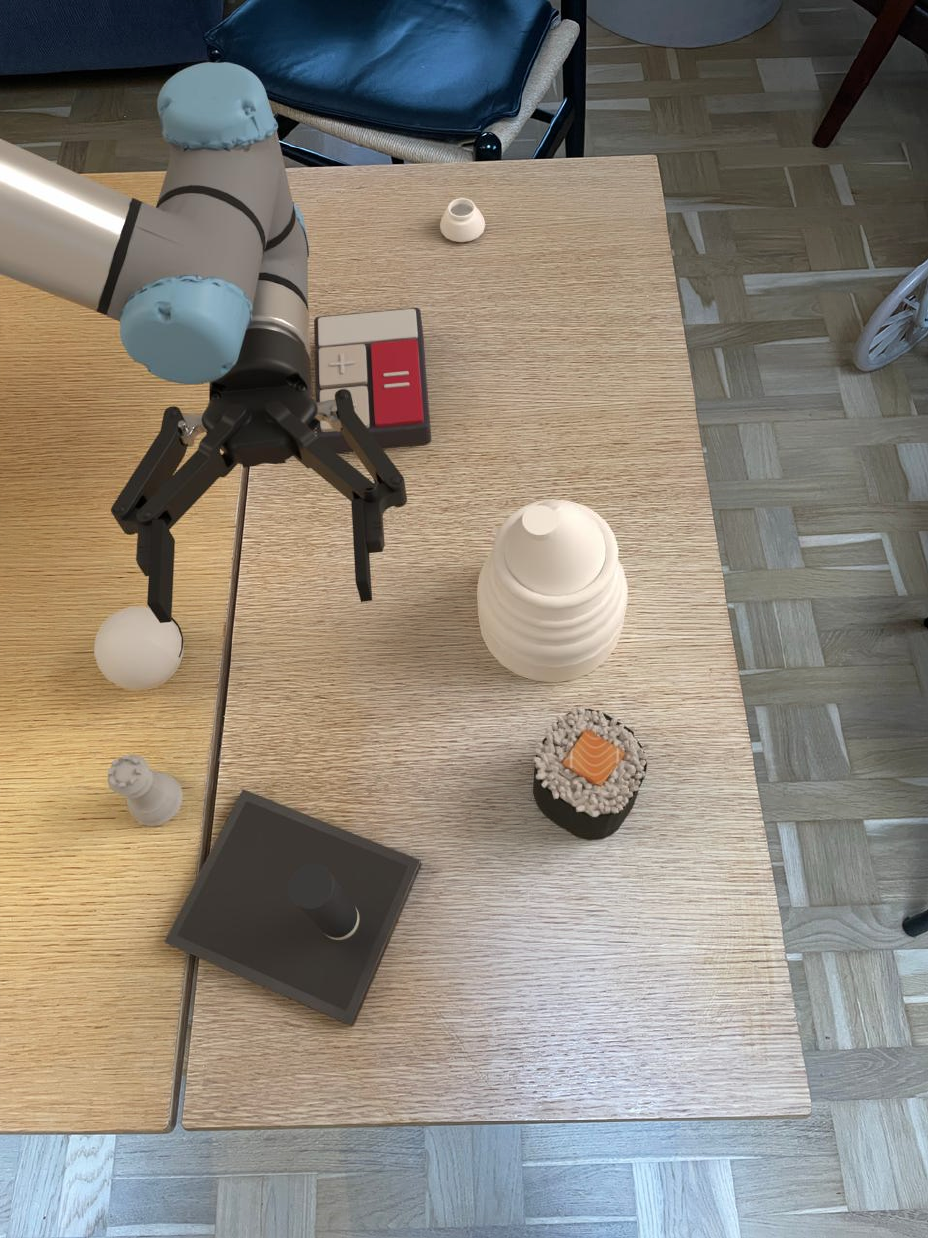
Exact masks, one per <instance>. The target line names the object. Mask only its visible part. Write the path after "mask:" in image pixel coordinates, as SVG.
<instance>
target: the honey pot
mask: <svg viewBox="0 0 928 1238" xmlns="http://www.w3.org/2000/svg"><path fill="white" fill-rule="evenodd" d="M619 552H620V551H619V546H618V541H617V539H616V534H614V531H613V530H612V528H611V526H610V525H609V524H608V522H607V521H606V520H605V519H604V518H603V517H602V516H600V514H599V513H598V512H596V511H595V510H593V509H591V508H589V507H587V506H586V505H584V504H581V503H578V502H574V501H571V500H567V499H555V498H554V499H553V498H551V499H544V500H537V501H534V502H530V503H528V504H526V505H523V506H521V507H519V508H518V509H517V510H515V511H514V512H512V513H510V515H508V516H507V517H506V519H505V520H504V521H503V522H502V523H501V525H500V526H499V527H498V529H497V531H496V534H495V537H494V538H493V541H492V548H491V552H490V553H489V554H488V556H486V558H485V560H484V563H483V565H482V568H481V570H480V572H479V575H478V579H477V580H478V581H477V588H476V597H477V598H476V600H477V601H476V603H477V614H478V622H479V623H478V624H479V629H480V634H481V637H482V640H483V641H484V644H485V646H486V648H487V650H488V652H489V653H490V654H491V655H492V656H493V657H494V658H495V659H496V660H497V661H498V663H499V664H500V665H501V666H503V667H505V669H507V670H509V671H511V672H512V673H514V674H515V675H517V676H519V677H523V678H526V679H529V680H531V681H534V682H543V683H544V682H545V683H561V682H568V681H574V680H577V679H579V678H581V677H584V676H586V675H588V674H590V673H593V672H594V671H595V670H596V669H598V668H599V667H600V666H601V665H603V664H604V663H605V662H606V661H607V660H608V659H609V657H610V656H611V654H612V653H613V652H614V650H615V649H616V648H617V646H618V643H619V640H620V637H621V635H622V632H623V627H624V621H625V618H626V612H627V606H628V597H629V596H628V595H629V586H628V582H627V578H626V574H625V570H624V566H623V565H622V563H621V562H620V560H619Z"/></svg>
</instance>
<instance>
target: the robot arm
mask: <svg viewBox="0 0 928 1238" xmlns="http://www.w3.org/2000/svg"><path fill="white" fill-rule="evenodd" d="M156 106H157V113H158V116H159V117H158V118H159V120H160V123H161V128H162V129H161V134H162V137H163V140H164V141H165V142H166V143H167V145H168V148H169V163H168V166H167V169H166V171H165V175H164V179H163V182H162V186H161V189H160V193H159V195H158V199H157V203H156V206H154V205H151V204H149V203H146V202H144V201H142V200H139V199H137V198H135V197H130V196H129V195H127V194H124V193H122V192H120V191H118V190H115V189H113V188H111V187H109V186H107V185H104V184H102V183H100V182H97V181H95V180H93V179H91V178H89V177H87V176H84V175H82V174H80V173H78V172H75V171H74V170H71V169H69V168H66V167H64V166H62V165H60V164H57V163H55V162H53V161H51V160H48V159H46V158H44V157H42V156H40V155H37V154H35V153H33V152H31V151H28V150H27V149H24V148H22V147H20V146H17V145H15V144H13V143H11V142H9V141H7V140H4V139H2V138H0V275H1V276H4V277H6V278H9V279H12V280H14V281H16V282H20V283H21V284H25V285H27V286H30V287H32V288H35V289H38V290H39V291H42V292H45V293H47V294H50V295H53V296H55V297H58V298H61V299H62V300H65V301H68V302H71V303H73V304H75V305H78V306H81V307H84V308H87V309H89V310H90V311H94V312H96V313H99V314H101V315H104V316H106V317H108V318H109V319H112V320H115V321H117V322H119V336H120V341H121V344H122V346H123V347H124V349H125V351H126V353H127V355H128V356H129V357H130V358H131V359H132V361H134V362H135V363H138V364H141V365H143V366H144V367H145V368H146V369H147V371H148V373H150V374H151V375H153V376H155V377H157V378H159V379H161V380H164V381H168V382H171V383H174V384H181V385H202V384H207V383H208V384H209V385H208V387H209V388H208V397H209V398H208V404H207V407H206V408H205V409H204V411H203V413H182V411H181V409H180V407H178V406H176V405H171V406H169V407H167V408H166V409H165V410H164V412H163V416H162V421H161V426H160V431H159V433H158V434H157V436H156V437H155V438H154V440H153V441H152V443H151V445H150V447H148V450H147V452H146V453H145V454H144V456H143V457H142V459H141V460H140V462H139V464H138V465H137V467H136V468H135V469H134V471H133V473H132V475H131V476H130V478H129V479H128V481H127V482H126V484H125V486H124V487H123V488H122V489H121V491H120V493H119V495H118V496H117V498H116V499H115V501H114V503H113V504H112V506H111V508H110V513H111V514H112V516H113V518H114V520H115V521H116V522H117V524H118V525H119V527H120V528H121V530H122V532H123V533H124V534H125V535H129V536H133V535H135V534H137V539H136V540H137V541H136V553H135V562H136V563H137V566H138V567H139V570H141V572H142V574H143V575H144V577H148V583H147V584H148V585H147V598H146V605H147V607H149V608H150V609H151V610H152V612H153V613H154V615H155V616H156V618H157V619H158V621H159V622H160V623H166V622H171V618H173V615H172V614H173V593H174V572H175V571H174V570H175V552H176V551H175V549H176V548H175V547H176V546H175V545H176V540H175V538H174V536H173V534H172V532H171V531H170V530H171V529H172V528H173V527H174V526H175V525H176V524H177V522H179V520H180V519H181V518H183V517H184V515H185V514H187V512H188V511H189V510H190V509H191V508H192V507H193V506H194V505H195V504H196V503H197V501H198V500H199V499H200V498H202V496H204V494H206V492H207V491H208V490H209V489H210V488H211V487H212V486H213V485H214V484H215V483H216V481H218V479H219V478H226V477H228V475H229V474H230V473H231V472H232V471H233V470H234V469H235V467H237V465H238V464H239V465H242V468H252V467H253V468H254V467H256V466H259V465H262V464H271V465H280V464H282V465H283V464H286V461H287V460H289V459H291V458H292V457H293V458H295V459H296V460H297V461H298V462H299V463H300V464H302V465H303V466H304V467H306V468H307V469H311V470H313V471H314V472H315V473H316V474H317V475H318V476H320V477H321V478H322V479H324V481H325V482H327V483H328V484H329V485H331V486H332V487H333V488H334V489H335V490H337V492H339V493H340V494H341V495H343V496H344V497H345V498H346V499H347V500H349V501H350V503H351V504H350V505H351V522H352V523H351V524H352V539H353V540H352V542H353V559H354V560H353V561H354V576H355V585H356V588H357V593H358V596H359V599H360V602H361V603H363V602H372V601H373V592H372V591H373V590H372V574H371V560H370V558H371V557H370V554H377V553H383V551H384V549H385V546H386V544H385V543H386V542H385V528H384V514H385V512H386V511H387V510H388V509H390V508H392V507H395V508H402V507H404V506H405V505H406V504H407V502H408V494H407V490H406V483H405V478H404V476H403V475H402V473H401V472H400V471H399V469H398V467H397V466H396V465H395V464H394V463H393V461H392V459H391V458H390V457H389V456H388V455H387V453H386V452H385V450H384V448H381V446H380V445H379V444H378V442H377V441H376V440H375V438H374V437H373V435H372V434H371V433H370V431H369V430H368V429H367V427H366V426H365V425H364V423H363V422H362V421H361V419H360V418H359V417H358V415H357V414H356V413H355V410H354V405H353V401H352V396H351V393H350V391H349V390H347V389H341V390H338V391H337V392H336V393H335V399H333V400H328V401H323V402H317V403H316V400H315V399H314V398H313V381H312V380H313V379H312V377H313V376H312V361H311V354H312V351H311V348H312V347H311V330H310V329H311V328H310V309H309V273H308V271H309V270H308V268H309V267H308V265H309V264H308V263H309V261H308V260H309V258H310V246H309V239H308V235H307V230H306V223H305V218H304V215H303V214H302V211H301V209H300V208H299V206H298V205H297V204H296V203H295V202H294V201H293V197H292V192H291V188H290V184H289V178H288V175H287V171H286V166H285V161H284V157H283V151H282V148H281V147H282V146H281V144H280V139H279V135H278V128H279V125H278V124H279V123H278V122H277V120H276V118H275V117H274V114H273V113H274V112H273V111H272V108H271V104H270V102H269V98H268V95H267V91H266V88H265V86H264V84H263V83H262V81H261V80H260V79H259V77H258V76H257V75H256V74H255V73H253V72H252V71H251V70H249V69H247V68H246V67H244V66H241V65H240V64H235V63H232V62H225V61H224V62H210V61H207V62H201V63H197V64H194V65H191V66H188V67H186V68H184V69H182V70H180V71H178V72H176V73H175V74H174V75H171V77H170V78H168V80H167V81H166V82H165V83H164V84H163V85H162V87H161V89H160V91H159V94H158V96H157V102H156ZM320 421H326V422H328V423H329V424H330V426H331V427H332V428H334V429H335V430H336V431H337V432H340V431H343V435H344V437H345V440H346V441H347V443H348V444H349V446H350V447H351V449H352V450H353V451H352V452H353V453H354V454H355V456H356V457H357V458H358V460H359V461H360V462H361V464H362V465H363V467H364V468H365V469H366V471H367V472H368V473H369V475H370V477H371V478H372V479H373V482H372V481H371V480H370V479H369V478H367V476H366V475H364V474H363V473H362V472H360V471H359V470H358V469H357V468H355V467H354V466H353V465H352V464H351V463H349V462H348V461H347V460H346V459H345V458H343V457H342V456H340V454H339V453H338V452H337V453H336V452H335V451H333V450H332V449H331V448H330V447H328V446H327V445H326V444H325V443H323V442H322V441H321V440H320V439H319V438H317V434H316V433H315V432H314V431H315V430H316V427H317V426H318V424H319V422H320ZM204 433H206V434H205V436H203V437H202V438H201V440H200V441H199V443H198V448H197V450H196V451H195V452H194V453H193V454H192V455H191V456H190V457H188V459H187V460H186V461H185V462H184V463H183V464H182V466H180V465H181V463H182V461H183V459H184V458H185V456H186V454H187V450H188V448H191V447H193V446H194V445H195V441H196V438H197V437H198V436H199V435H200V434H204ZM221 451H222V452H223V453H221ZM179 466H180V467H179Z"/></svg>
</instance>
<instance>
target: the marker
mask: <svg viewBox="0 0 928 1238" xmlns="http://www.w3.org/2000/svg"><path fill="white" fill-rule="evenodd" d="M289 895H290V897H291V899H292V901H293V902H294V903H295V904H296V905H297V906H298V907H299V908H300V909H301V910H302V911H303V912H304V913H305V914H306V915H307V916H308V917H309V918H310V919H311V920H312V921H313V922H314V923H315V924H316V925H317V926H318V927H319V928H320V929H321V930H322V931H323V933H324V934H326V935H327V936H328V937H329V938H331V939H334V940H343V939H346V938H348V937H350V936H351V935H352V934H353V933H354V932H355V931H356V929H357V927H358V925H359V913H358V910H357V908H356V907H355V906H354V904H353V903H352V901H351V900H350V899H349V897H348V896H347V895H346V893H345V892H344V891H343V889H342V888H341V886H340V885H339V884H338V882H337V881H336V880H335V878H334V877H333V876H332V874H331V873H330V872H329V870H328V869H327V868H325V867H324V866H322V865H320V864H314V863H312V864H306V865H304V866H302V867H300V868H299V869H297V870H296V871H295V872H294V874H293V875H292V877H291V879H290V882H289Z"/></svg>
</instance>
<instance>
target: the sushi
mask: <svg viewBox="0 0 928 1238" xmlns="http://www.w3.org/2000/svg"><path fill="white" fill-rule="evenodd" d="M555 718H556V721H557V722H552V724H551V725H550V726H549V725H547V726H546V727H545V731H546V732H544V739H542V741H539V742H538V741H537V743H536V748H535V749H534V754H535V756H534V757H533V761H532V762H533V764H534V767H533V783H532V784H533V785H532V786H533V787H532V793H533V794H532V795H533V797H534V801H535V803H536V806H537V808H538V809H539V810H540V812H541V813H542V814H543V815H544V816H545V817H546V818H547V819H549V820H550V821H551V822H552V823H554V824H555V825H556V826H558V827H560V828H561V829H563V830H565V831H566V832H567V833H569V834H571V835H572V836H574V837H576V838H579V839H583V840H587V841H596V840H604V839H606V838H608V837H610V836H613V835H614V834H615V833H616V832H617V831H618V830H620V828H621V826H622V825H623V823H624V822H625V820H626V819H627V817H628V816H629V814H631V811H632V810H633V808H634V805H635V803H636V801H637V797H638V794H639V791H640V788H641V786H642V783H643V781H644V779H645V778H646V775H647V769H648V762H647V759H648V758H649V754H647V753H646V752H645V750H644V748H643V746H642V744H641V743H640V741H638V739H637V738H636V737H635V736H634V734H635V732H634V731H633V730H632V729H630V728H629V727H627V726H626V724H625V725H624V723H622V722H620V721H618V718H617V717H614V718H613V717H612V716H610V715H608V714H606V713H604V712H603V711H600V710H597V709H596V710H595V709H593V708H583V707H581V706H577V707H576V709H575V708H571V710H570V712H567V713H566V714H565V715H560V714H558V715H556V716H555Z"/></svg>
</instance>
